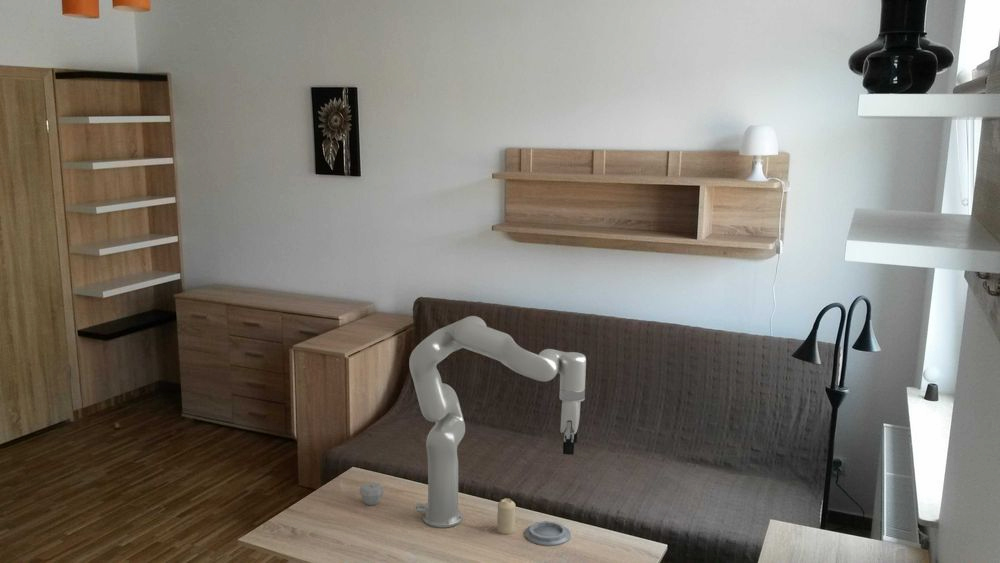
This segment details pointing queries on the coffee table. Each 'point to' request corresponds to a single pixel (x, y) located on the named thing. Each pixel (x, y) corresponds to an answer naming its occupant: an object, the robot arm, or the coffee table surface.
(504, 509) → the candle
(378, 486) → the apple
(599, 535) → the coffee table surface
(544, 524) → the candle dish
